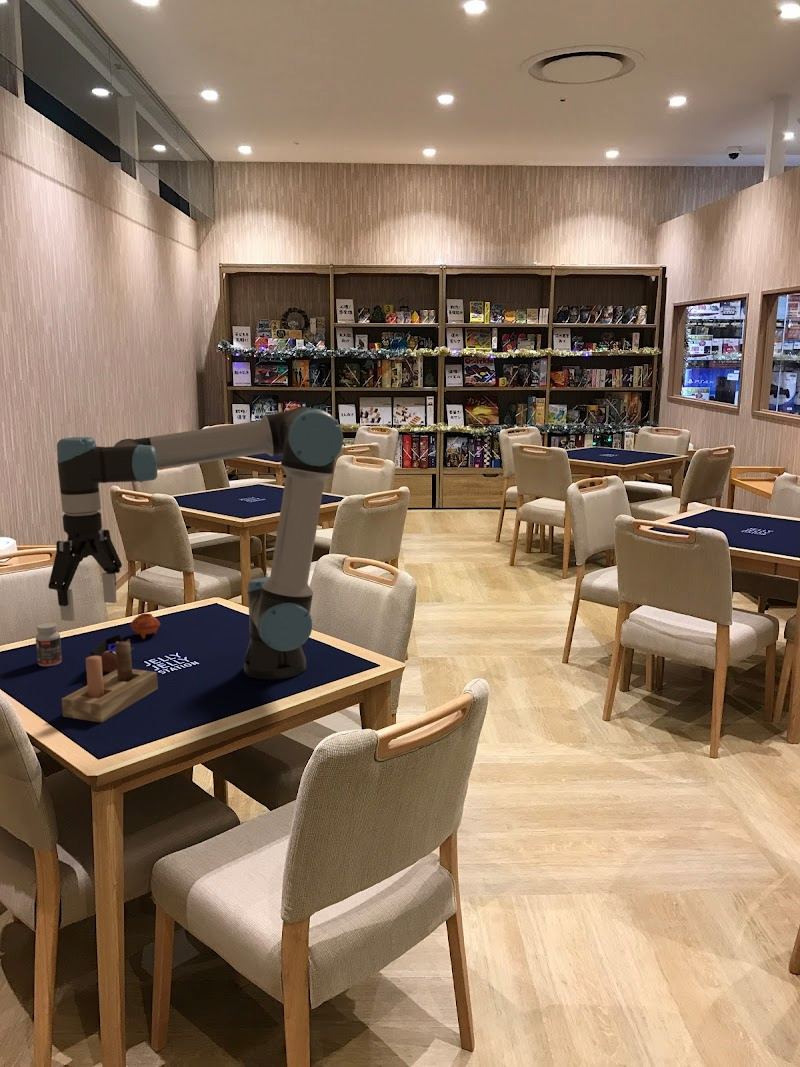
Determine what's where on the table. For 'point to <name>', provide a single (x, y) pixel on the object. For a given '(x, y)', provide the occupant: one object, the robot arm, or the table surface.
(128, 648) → the walnut peg
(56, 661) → the pill bottle
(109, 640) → the character figurine
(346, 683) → the table surface
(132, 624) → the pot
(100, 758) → the table surface
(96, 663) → the terracotta peg
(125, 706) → the maple hole block
